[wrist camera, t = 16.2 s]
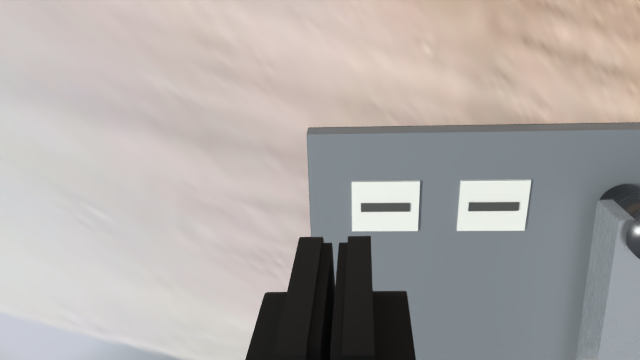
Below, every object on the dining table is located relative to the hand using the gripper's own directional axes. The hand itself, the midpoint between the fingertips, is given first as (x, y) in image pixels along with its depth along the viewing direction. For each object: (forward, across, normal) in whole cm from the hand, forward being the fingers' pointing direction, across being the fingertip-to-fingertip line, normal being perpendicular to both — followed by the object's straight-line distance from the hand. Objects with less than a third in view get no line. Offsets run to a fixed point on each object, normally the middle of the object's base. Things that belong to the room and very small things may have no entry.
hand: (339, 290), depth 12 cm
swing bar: (+21, -17, +18) cm, 32 cm away
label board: (+22, -8, +12) cm, 27 cm away
